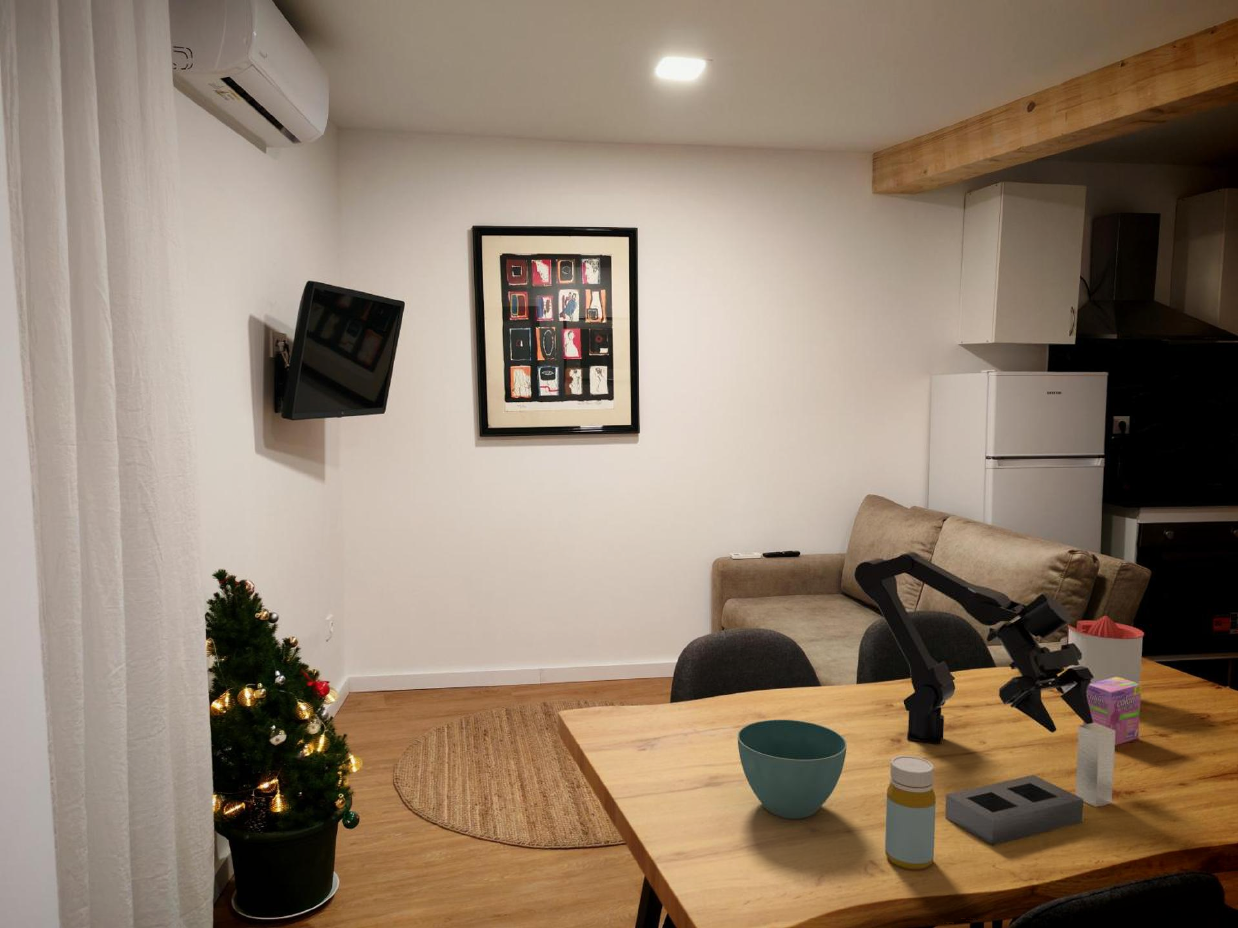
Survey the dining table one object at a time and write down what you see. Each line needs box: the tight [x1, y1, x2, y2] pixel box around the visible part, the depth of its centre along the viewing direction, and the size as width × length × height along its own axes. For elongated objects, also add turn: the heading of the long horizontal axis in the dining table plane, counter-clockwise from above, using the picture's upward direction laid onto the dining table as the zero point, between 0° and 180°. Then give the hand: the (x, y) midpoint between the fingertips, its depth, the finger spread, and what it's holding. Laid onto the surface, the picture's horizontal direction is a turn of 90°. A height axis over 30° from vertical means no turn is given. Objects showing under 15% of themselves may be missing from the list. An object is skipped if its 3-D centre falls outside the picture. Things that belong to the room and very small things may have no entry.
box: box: [1082, 677, 1143, 746], centre depth 180 cm, size 10×6×12 cm, turn 117°
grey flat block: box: [944, 774, 1084, 847], centre depth 145 cm, size 20×10×4 cm, turn 113°
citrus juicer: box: [1059, 615, 1145, 684], centre depth 205 cm, size 16×17×20 cm
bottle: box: [884, 755, 937, 871], centre depth 132 cm, size 7×7×15 cm
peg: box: [1074, 723, 1116, 808], centre depth 152 cm, size 4×4×13 cm
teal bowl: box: [737, 719, 848, 820], centre depth 149 cm, size 18×18×12 cm
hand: (1072, 727), depth 157 cm, fingers open, 9 cm apart
